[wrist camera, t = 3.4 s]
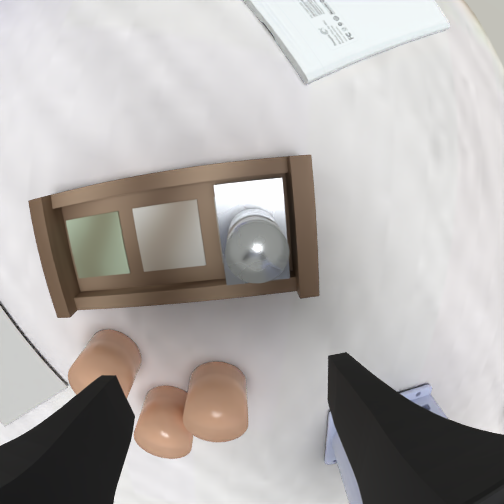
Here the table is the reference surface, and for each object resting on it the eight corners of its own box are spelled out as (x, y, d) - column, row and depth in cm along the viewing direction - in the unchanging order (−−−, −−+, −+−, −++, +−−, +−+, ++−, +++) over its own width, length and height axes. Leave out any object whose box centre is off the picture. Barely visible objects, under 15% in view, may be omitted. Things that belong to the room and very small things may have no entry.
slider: (278, 176, 15) (294, 182, 11) (286, 270, 17) (302, 308, 12) (215, 183, 15) (206, 191, 11) (227, 277, 17) (223, 317, 12)
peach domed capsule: (242, 358, 20) (244, 398, 16) (249, 400, 21) (251, 440, 17) (184, 363, 20) (175, 401, 16) (196, 404, 21) (190, 442, 17)
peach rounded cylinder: (190, 384, 20) (183, 423, 17) (201, 421, 22) (197, 458, 18) (139, 385, 20) (125, 422, 17) (154, 421, 22) (144, 457, 18)
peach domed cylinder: (132, 328, 19) (113, 362, 15) (148, 375, 20) (134, 412, 16) (83, 329, 19) (58, 361, 15) (101, 374, 20) (82, 408, 16)
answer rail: (298, 156, 16) (311, 154, 14) (307, 275, 18) (319, 295, 16) (55, 194, 16) (28, 200, 13) (78, 297, 18) (57, 317, 15)
